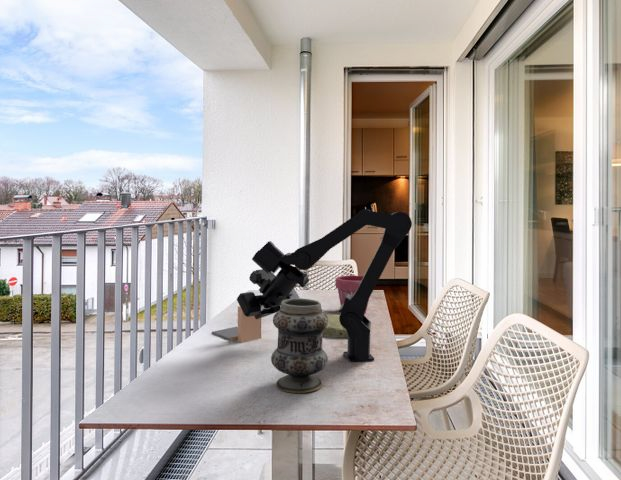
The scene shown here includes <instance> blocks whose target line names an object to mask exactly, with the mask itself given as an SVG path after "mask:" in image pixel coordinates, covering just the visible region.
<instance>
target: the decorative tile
mask: <svg viewBox="0 0 621 480" xmlns="http://www.w3.org/2000/svg"><path fill="white" fill-rule="evenodd" d="M325 314H326V315H327V317H328V325H327V326H326V328H325V329H323V335H322V336H323V337H324V336H325V337H328V338H329V337H333V338H347V339H348V333H347V330H346V329H345V328H344V327H343V326H342V325H341V324H340V321H339V317H340V314H331V313H325Z"/></svg>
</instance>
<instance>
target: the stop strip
mask: <svg viewBox="0 0 621 480" xmlns="http://www.w3.org/2000/svg"><path fill="white" fill-rule="evenodd" d="M229 342H230V343H231V342H232V343H233V342H238V335H235V336H231V337H230V340H229Z"/></svg>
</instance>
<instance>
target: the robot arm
mask: <svg viewBox="0 0 621 480" xmlns="http://www.w3.org/2000/svg"><path fill="white" fill-rule="evenodd" d="M412 224H413V223H412V218H411V217H410V215H409V214H407V213H405V212H403V211H396V212H393V213H390V214H389V213H383V212H379V211H378V212H377V211H373V210H370V209H368V208H363V209H361V210H359V211H358V213H356V214H355V215H353V216H352V217H351V218H349V219H348V220H346V221H345V222H343V223H342V224H340V225H339V226H337V227H336V228H334V229H333V230H332V231H330V232H328V233H326V234H325V235H324V236H323V237H321V238H318V239H317V240H315V241H312V242H310V243H308V244H305V245H304V246H303V245H302V246H301V247H299V248H297V249H296V250H295V251H294V252H287V253H283V252H282V250H280V249H279V248H278V247H277V246H276V245H275V244H274V242H272V241H267V242H266V244H264V245H263V246H262V247H261V248H259V250H257V251H256V252H255V254H254V255H253V256H252V258H251V260H252V261H253V263H255V264H256V265H257V266H258V267H259V268H261V269H256V270H252V272H251V273H250V275H249V277H248V278H249V281H250V282H251V283H252V284H253V285H257V286H258V287H259V288H258V291H259V293H260V295H256V294H255V293H254V291H247V292H241V293H240V294H239V295H238V296H237V298H236V302H237V303H238V306H240V307H241V309H242V311H243V313H244V315H245V316H247V317H250V316H255V318H256V319H260V318H261V319H262V318H265V317H268V316H270V315H273V314H274V315H275V314H276V313H277V312H278V311H279V310H280V308H281V302H282V301H283V300H286V299H293V298H301V297H300V295H299V294H298V293H297V291H296V289H295V288H296V286H297V285H299V286H300V287H301V288H304V287H305V286H306V285H307V284H308V283H309V282H310V280H309V279H310V278H309V277H308V273H303V272H302V271H306V270H309V269H311V268H312V267H313V266H314V265H315V264H317V263H318V261H320V260H321V259H322V258H323V257H324V256H325V255H326V254H327V253H328V252H329V251H330V250H331V249H332V248H334V247H336V246H337V245H338V244H340V243H342V242H343V241H345V240H346V239H348V238H349V237H351V236H352V235H354V234H355V233H357V232H358V231H359V230H361V229H362V228H364V227H366V226H371V227H377V228H381V229H384V231H383V235H382V237H381V238H382V239H381V242H380V244H379V246H378V247H377V250H376V252H375V254H374V256H373V258H372V259H371V262H370V264H369V266H368V268H367V269H366V271H365V274H364V275H363V276H364V277H363V279H362V281H361V283H360V285H359V287H358V289H357V290H356V292H355V293H354V294H353V295H352V296H351V295H350V294H348V293H347V296H346V298H345V301H344V303H343V304H342V305H341V304H340V307H339V310H338V313H339V315H340V317H339V321H340V324H341V325H342V326H343V327H344V328H345V329H346V330H347V333H348V338H347V351H343V352H342V354H343V356H345V358H346V359H347V360H348V361H349V362H365V361H375V357H374V356H373V355H372V354H371V329H372V327H371V325H372V322H371V321H370V320H369V319H368V318H367V317H366V315H365V314H366V313H365V311H366V307H367V308H368V306H367V304H368V305H369V302H368V300H369V301H370V298H371V295H372V294H373V292H374V290H375V288H376V286H377V284H378V282H379V279H380V278H381V276H382V274H383V272H384V270H385V269H386V267H387V265H388V262H389V261H390V259H391V257H392V255H393V253H394V251H395V250H396V249H397V247H398V246H399V245H400V243H402V242H403V240H404V239H405V238H406V236H407V235H408V234H409V233H410V231H411V230H412V229H411V228H412V226H413V225H412ZM279 269H280V270H279ZM278 270H279V271H278ZM277 271H278V272H277ZM276 272H277V274H276V275H275V273H276ZM366 312H367V311H366Z"/></svg>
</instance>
